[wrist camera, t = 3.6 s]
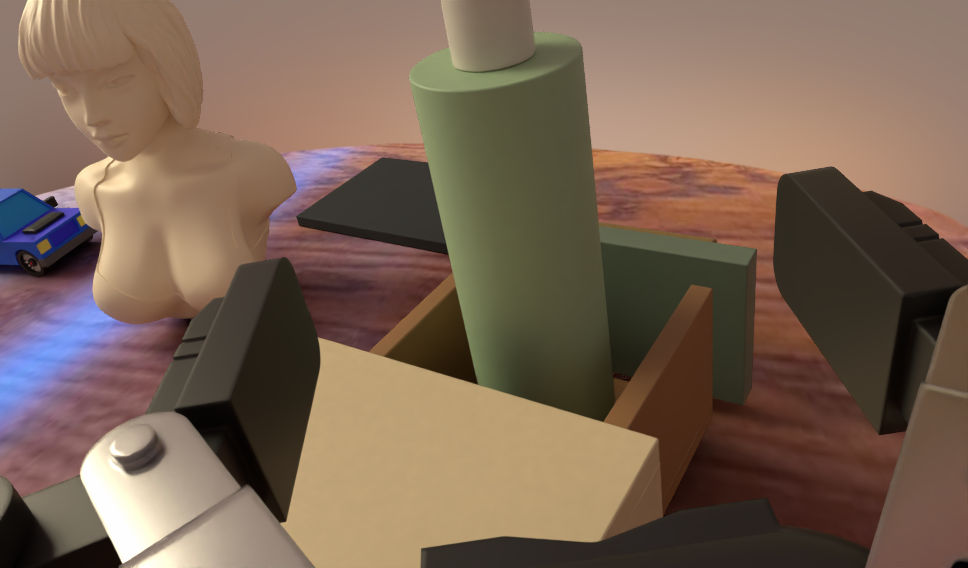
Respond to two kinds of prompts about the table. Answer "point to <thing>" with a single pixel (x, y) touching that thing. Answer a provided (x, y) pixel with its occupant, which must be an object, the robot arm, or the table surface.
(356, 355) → the cabinet
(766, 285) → the table surface
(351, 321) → the table surface
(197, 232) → the figurine
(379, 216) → the drying mat
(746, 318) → the drawer
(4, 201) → the toy car
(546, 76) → the soap bottle
